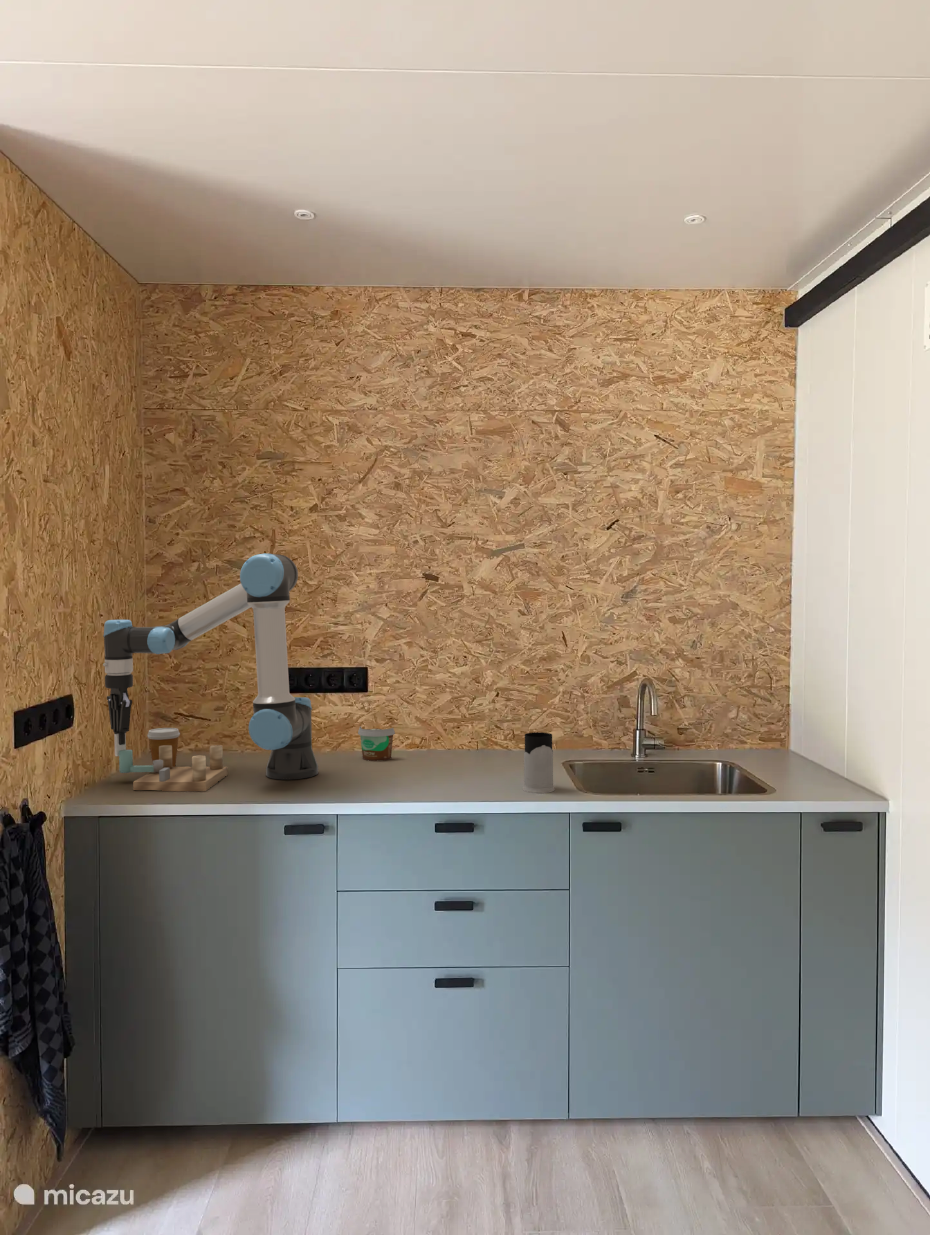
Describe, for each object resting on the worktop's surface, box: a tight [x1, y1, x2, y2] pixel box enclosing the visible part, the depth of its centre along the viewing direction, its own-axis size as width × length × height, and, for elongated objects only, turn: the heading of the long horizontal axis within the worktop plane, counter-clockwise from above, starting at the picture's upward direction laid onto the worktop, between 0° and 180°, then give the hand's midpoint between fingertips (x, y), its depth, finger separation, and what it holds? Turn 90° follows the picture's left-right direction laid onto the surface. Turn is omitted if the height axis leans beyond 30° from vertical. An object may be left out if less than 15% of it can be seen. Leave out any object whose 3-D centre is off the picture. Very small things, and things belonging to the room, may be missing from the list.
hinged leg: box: [118, 749, 163, 774], centre depth 260 cm, size 12×4×6 cm, turn 93°
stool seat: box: [132, 744, 229, 792], centre depth 259 cm, size 20×20×9 cm
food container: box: [357, 725, 396, 762], centre depth 290 cm, size 12×6×10 cm, turn 73°
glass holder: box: [522, 731, 556, 794], centre depth 250 cm, size 9×14×15 cm, turn 16°
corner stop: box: [159, 768, 170, 782], centre depth 251 cm, size 2×4×3 cm, turn 177°
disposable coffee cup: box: [147, 727, 181, 767], centre depth 277 cm, size 10×10×12 cm
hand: (120, 755), depth 262 cm, fingers closed
